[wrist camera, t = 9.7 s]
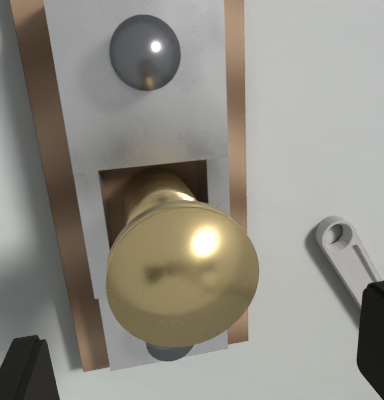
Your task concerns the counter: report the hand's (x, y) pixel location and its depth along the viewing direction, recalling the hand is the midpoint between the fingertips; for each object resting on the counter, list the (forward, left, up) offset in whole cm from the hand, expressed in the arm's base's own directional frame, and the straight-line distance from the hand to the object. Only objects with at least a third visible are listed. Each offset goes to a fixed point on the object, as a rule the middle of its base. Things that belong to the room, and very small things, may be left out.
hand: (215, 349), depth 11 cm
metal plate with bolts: (+1, +1, -13) cm, 13 cm away
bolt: (0, 0, -13) cm, 13 cm away
